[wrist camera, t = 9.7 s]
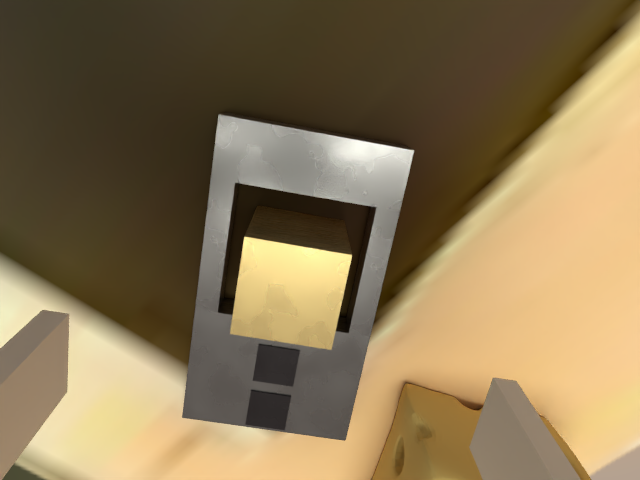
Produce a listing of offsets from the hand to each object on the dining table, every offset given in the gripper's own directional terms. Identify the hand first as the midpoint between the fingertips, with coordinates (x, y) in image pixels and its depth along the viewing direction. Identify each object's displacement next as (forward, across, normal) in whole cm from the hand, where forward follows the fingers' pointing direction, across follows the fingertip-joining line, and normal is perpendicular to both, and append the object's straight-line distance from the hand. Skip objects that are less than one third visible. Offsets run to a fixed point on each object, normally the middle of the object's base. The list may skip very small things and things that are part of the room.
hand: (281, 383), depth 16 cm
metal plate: (+14, 0, -3) cm, 14 cm away
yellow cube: (+14, 0, -1) cm, 14 cm away
